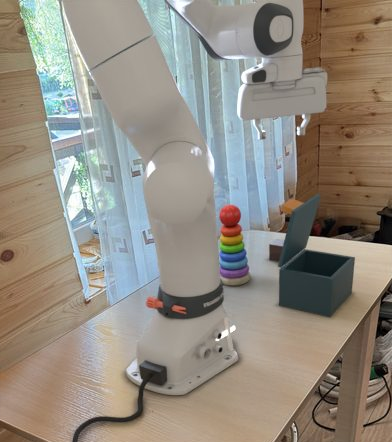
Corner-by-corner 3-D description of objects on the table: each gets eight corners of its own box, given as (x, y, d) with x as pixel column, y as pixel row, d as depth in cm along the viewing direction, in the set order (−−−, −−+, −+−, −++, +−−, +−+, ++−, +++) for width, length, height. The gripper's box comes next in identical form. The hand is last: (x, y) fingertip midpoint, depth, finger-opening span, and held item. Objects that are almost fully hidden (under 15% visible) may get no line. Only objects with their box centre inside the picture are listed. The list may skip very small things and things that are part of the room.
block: (284, 262, 135) (284, 246, 132) (269, 259, 137) (269, 244, 135) (291, 256, 138) (291, 241, 135) (276, 254, 140) (276, 238, 138)
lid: (321, 194, 110) (301, 187, 112) (295, 212, 101) (274, 203, 103) (306, 247, 118) (287, 240, 120) (280, 267, 110) (261, 259, 111)
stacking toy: (250, 272, 131) (248, 199, 121) (250, 286, 124) (248, 209, 114) (219, 273, 132) (215, 201, 122) (217, 287, 125) (213, 211, 115)
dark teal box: (351, 293, 117) (355, 257, 112) (329, 317, 109) (332, 279, 104) (303, 283, 123) (304, 248, 119) (278, 305, 115) (279, 269, 110)
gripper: (323, 65, 117) (320, 130, 124) (234, 74, 116) (237, 139, 123) (332, 67, 112) (328, 134, 119) (239, 76, 111) (241, 144, 118)
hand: (281, 137), depth 121 cm, fingers open, 8 cm apart
